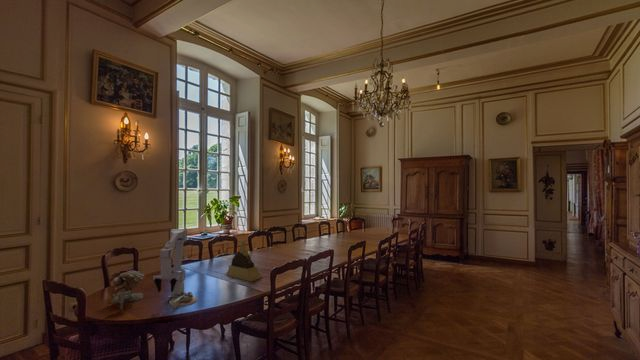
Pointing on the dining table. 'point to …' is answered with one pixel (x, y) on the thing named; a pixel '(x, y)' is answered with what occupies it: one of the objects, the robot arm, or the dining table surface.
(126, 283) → the cherub figurine
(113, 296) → the mechanical component
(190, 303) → the flange plate
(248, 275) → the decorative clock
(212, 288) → the dining table surface
